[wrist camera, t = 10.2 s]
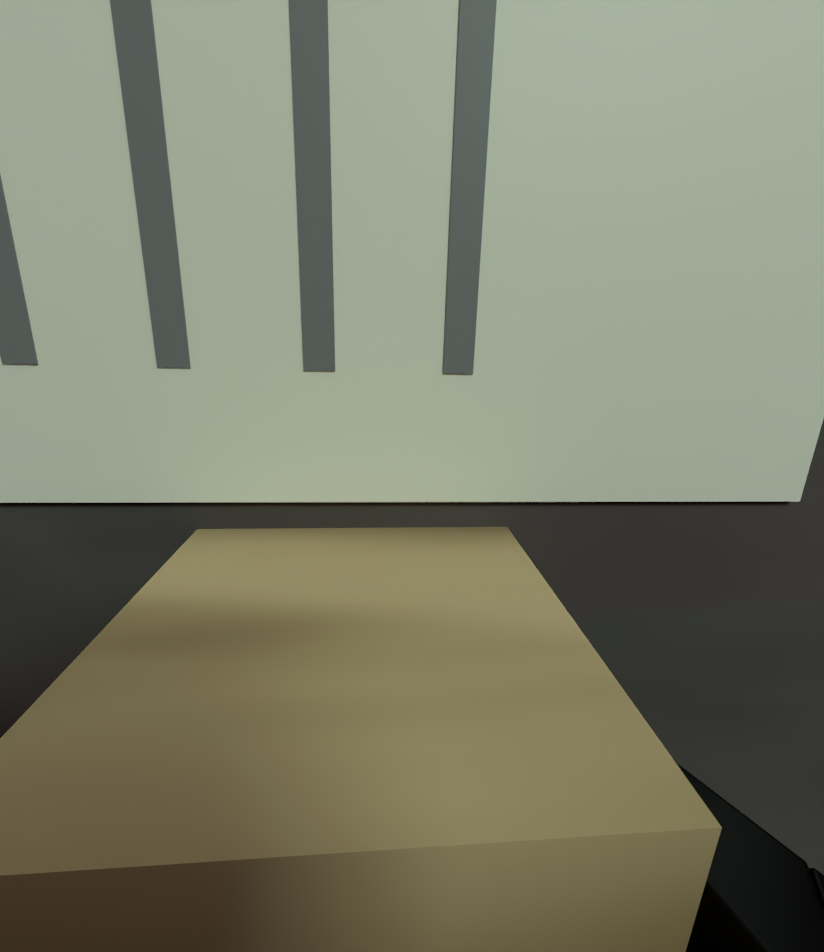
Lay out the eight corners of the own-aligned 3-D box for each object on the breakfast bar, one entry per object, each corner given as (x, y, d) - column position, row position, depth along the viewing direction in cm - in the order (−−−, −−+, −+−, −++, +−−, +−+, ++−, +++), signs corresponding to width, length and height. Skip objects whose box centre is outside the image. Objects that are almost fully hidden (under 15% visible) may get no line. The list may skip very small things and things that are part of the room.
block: (484, 757, 9) (606, 1217, 4) (227, 769, 9) (46, 1298, 4) (505, 525, 8) (722, 827, 3) (199, 527, 7) (-138, 885, 2)
